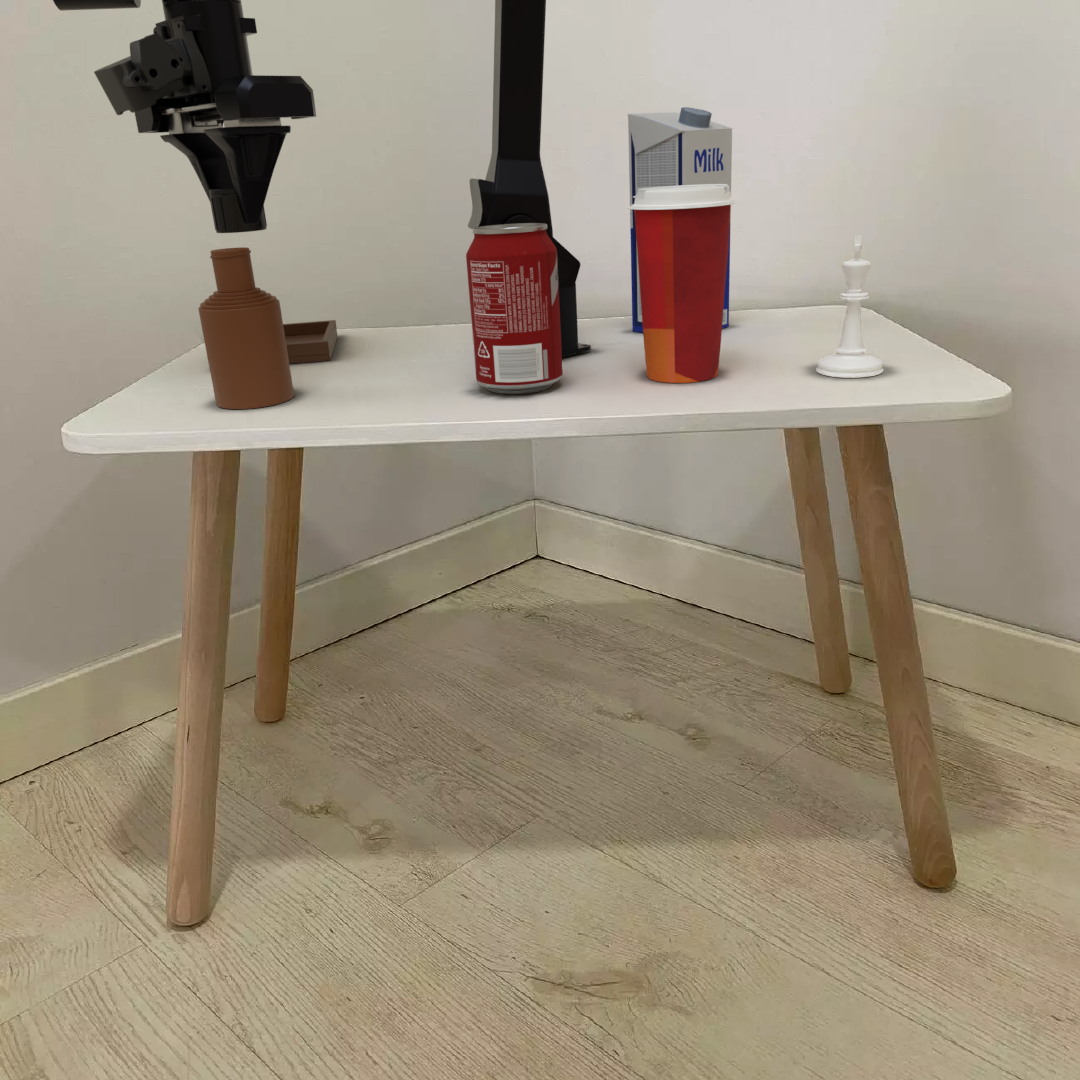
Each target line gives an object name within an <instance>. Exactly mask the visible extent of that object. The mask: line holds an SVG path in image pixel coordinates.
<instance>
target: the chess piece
mask: <svg viewBox="0 0 1080 1080" xmlns="http://www.w3.org/2000/svg"><path fill="white" fill-rule="evenodd" d="M862 240H863V235H862V234H855V235H854V245H853V258H850V260H846V261H843V262H842V264H841V267H842V270H843V274H844V278H845V279H844V280H845V284H846V286H847V289H846V291H845V292H841V293H840V295H839V297H838V298H839V299H840V300H842V301H847V303H846V309H845V316H844V322H843V327H842V331H841V337H840V342H839V345H838V347H835V349H834V350H835V352H836V353H833V354H828V355H826V356H824V357H821V358H820V359H818V361H817V367H816V369H815V371H816V372H817V374H820V375H823V376H826V377H834V378H841V379H842V378H845V379H857V378H858V379H859V378H869V377H875V376H878V375H880V374H883V373H884V368H883V364H884V362H883V360H882V359H880V357H877V356H874V355H872V354H868V353H865V352H867V350H868V349H867V348H866V347H864V344H863V343H864V342H863V332H862V330H863V329H862V309H861V307H862V306H861V301H865V300H868V299H870V296H869V293H868V292H866V291H864V290H863V286H864V284H865V282H866V278H867V275H868V273H869V271H870V269H871V265H872V263H871V262H870V261H869V260H866V259H864V258H861V255H862V254H861V253H862V249H863V248H862V247H863V246H862V245H863V242H862Z"/></svg>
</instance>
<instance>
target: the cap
mask: <svg viewBox="0 0 1080 1080" xmlns="http://www.w3.org/2000/svg"><path fill="white" fill-rule="evenodd" d="M209 194H210V201H209V202H210V208H211V214H212V220H213V225H214V226H213V227H214V230H215V232H216V234H236V233H249V232H259V231H265V230H267V229H268V228H267V227H268V224H267V217H266V212H265V211H266V210H265V205H264V206H263V209H262V213H261V216H260V220H259V222H258V223H255V224H246V223H245V222H244V220H243V217H242V214H241V211H240V208H239V204H238V201H237V197H236V193H235V190H234V188H222V189H210V190H209Z"/></svg>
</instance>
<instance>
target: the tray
mask: <svg viewBox="0 0 1080 1080" xmlns="http://www.w3.org/2000/svg"><path fill="white" fill-rule="evenodd" d="M283 327H284V334H285V340H286V346H287V353H288V359H289V365H293V364H303V363H304V364H305V363H316V362H327V361H331V358H332V356H333V353H334V349H335V346H336V343H337V340H338V337H339V335H338V329H337V320H336V319H330V320H318V321H305V322H304V321H303V322H293V323H283Z"/></svg>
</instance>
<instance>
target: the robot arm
mask: <svg viewBox="0 0 1080 1080" xmlns="http://www.w3.org/2000/svg"><path fill="white" fill-rule="evenodd" d="M52 1H53V3H54V5H55V7H56V8H57V9H58V10H59V11H60V12H61V11H89V10H90V11H91V10H116V9H117V10H119V9H120V10H121V9H139V8H141V6H142V5H141V4H142V0H52ZM161 4H162V10H163V16H164V20H162V21H159V22H157V23H155V26H154V27H153V31H152V32H153V33H152V34H149V35H145V36H144V37H143V38H140V39H137V40H134V41H131V42H129V52H130V53H129V56H127V57H125V58H122V59H120V60H118V61H115V62H113V63H110V64H107V65H105V66H103V67H101V68H99V69H96V70H94V71H93V73H94V75H95V77H96V79H97V81H98V83H99V85H100V86H101V88H102V90H103V92H104V93H105V96H106V98H107V99H108V101H109V103H110V105H111V107H112V108H113V110H114V112H115V114H116V115H117V116H122V115H123V114H124V113H125V112H128V111H129V112H130V113H134V117H135V122H136V127H137V132H138V134H160V133H161V134H162V135H159V137H160V139H161V140H162V141H163V142H164V143H169V144H170V145H171V146H173V147H174V148H175V149H177V150H178V151H179V152H180V153H182V154H183V155H184V156H186V157H187V159H188V160H189V163H190V165H191V166H192V168H193V170H194V172H195V174H196V176H197V178H198V179H199V182H200V184H201V186H202V188H203V191H204V192H205V194H206V196H207V199H208V200H209V202H210V194H209V190H210V189H222V188H234V190H235V193H236V197H237V201H238V204H239V208H240V211H241V214H242V217H243V220H244V222H245V223H246V224H255V223H258V222H259V220H260V216H261V213H262V209H263V206H264V207H265V202H266V198H267V195H268V191H269V187H270V185H271V181H272V177H273V174H274V171H275V168H276V164H277V161H278V159H279V156H280V153H281V150H282V147H283V146H284V142H285V140H286V137H287V135H288V134H290V133H291V130H292V125H282V120H281V118H283V119H285V118H286V119H287V118H288V119H289V118H290V119H291V120H302V119H309V118H316V117H317V111H316V102H315V96H314V95H315V94H314V89H313V88H312V87H311V86H310V85H309V83H307V81H306V80H304V78H303V77H302V76H301V75H259V74H258V75H254V74H253V69H252V68H253V67H252V63H251V57H250V56H251V55H250V50H249V43H248V36H252V35H256V34H258V30H257V23H256V18H254V17H244V10H243V4H242V0H161ZM546 10H547V0H494V36H493V37H494V38H493V39H494V40H493V43H494V44H493V83H492V84H493V85H492V86H493V87H492V125H491V127H492V128H491V132H492V133H491V137H492V138H491V154H490V160H489V165H488V167H487V171H486V175H485V179H483V178H482V179H481V178H472V177H471V178H470V179H469V190H470V197H471V205H472V206H471V207H472V208H471V214H470V215H471V216H470V218H469V221H468V223H467V227H468V229H470V230H473V228H476V227H481V226H490V225H501V224H517V223H545V224H547V229H546V233H547V235H548V237H549V238H550V239H551V241H552V242H553V244H554V245H555V247H556V249H557V264H558V285H559V307H560V328H561V350H562V358H564V357H568V356H569V357H570V356H573V355H577V354H581V353H584V352H585V353H586V352H589V351H592V346H591V344H587V343H581V342H579V330H578V305H577V304H578V303H577V301H578V300H577V283H576V281H577V279H578V275H579V271H580V270H581V269H580V268H581V261H580V260H579V259H577V257H576V256H574V254H572V253H571V252H570V251H569V250H568V249H567V248H566V247H564V245H562V243H560V242H559V241H558V240H557V239H556V238H555V237H554V232H553V222H552V214H551V206H550V205H551V204H550V197H549V192H548V187H547V183H546V179H545V174H544V169H543V164H542V159H541V138H542V137H541V135H542V112H543V111H542V109H543V88H544V87H543V85H544V63H545V60H544V59H545V38H546V37H545V36H546V35H545V34H546ZM163 133H168V134H163Z"/></svg>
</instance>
